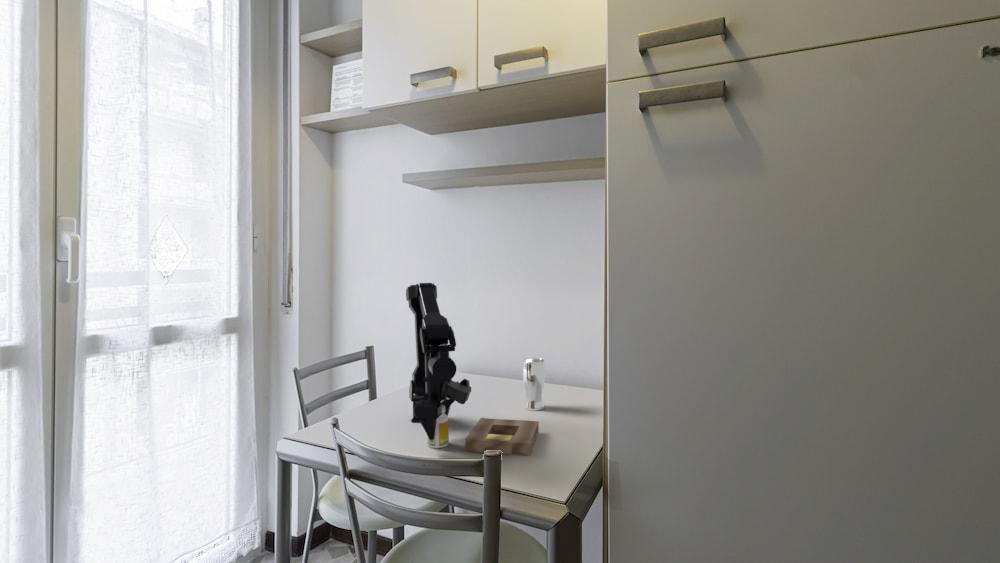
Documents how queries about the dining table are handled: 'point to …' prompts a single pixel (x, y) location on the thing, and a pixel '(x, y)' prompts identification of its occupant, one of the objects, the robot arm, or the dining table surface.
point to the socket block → (503, 436)
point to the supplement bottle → (440, 432)
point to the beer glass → (534, 383)
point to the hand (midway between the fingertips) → (437, 432)
